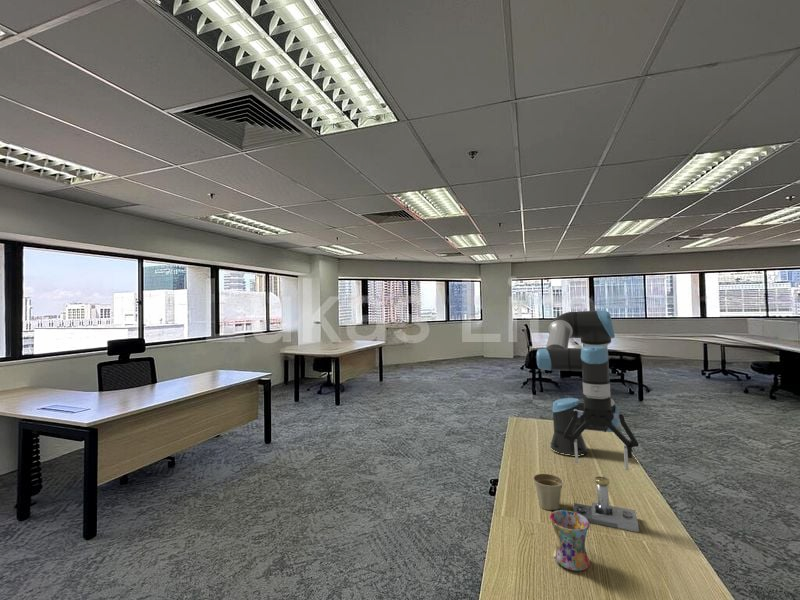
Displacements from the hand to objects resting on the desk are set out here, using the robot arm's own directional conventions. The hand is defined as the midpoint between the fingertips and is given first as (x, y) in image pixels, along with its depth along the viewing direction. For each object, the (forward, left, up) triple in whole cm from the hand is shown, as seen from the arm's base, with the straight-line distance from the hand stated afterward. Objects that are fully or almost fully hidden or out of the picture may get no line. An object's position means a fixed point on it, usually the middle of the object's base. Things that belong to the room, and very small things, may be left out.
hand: (601, 464), depth 112 cm
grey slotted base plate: (0, 0, -16) cm, 16 cm away
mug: (+24, -9, -16) cm, 31 cm away
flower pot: (-1, -16, -16) cm, 23 cm away
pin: (+1, 0, -16) cm, 16 cm away
